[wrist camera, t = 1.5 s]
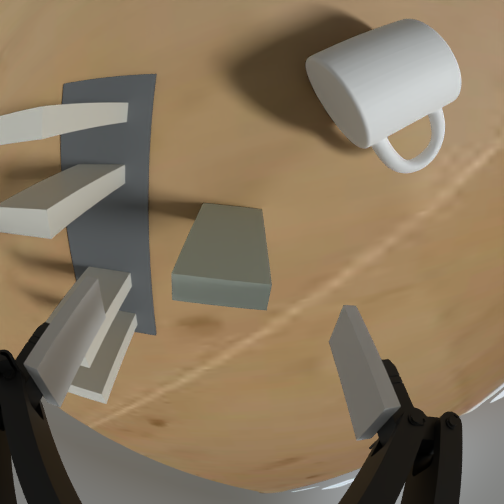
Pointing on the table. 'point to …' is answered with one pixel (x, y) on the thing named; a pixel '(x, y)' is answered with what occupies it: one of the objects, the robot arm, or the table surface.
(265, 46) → the table surface
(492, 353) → the table surface
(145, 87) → the strip
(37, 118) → the tile
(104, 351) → the tile
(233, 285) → the tile
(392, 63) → the mug
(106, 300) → the tile
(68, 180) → the tile
